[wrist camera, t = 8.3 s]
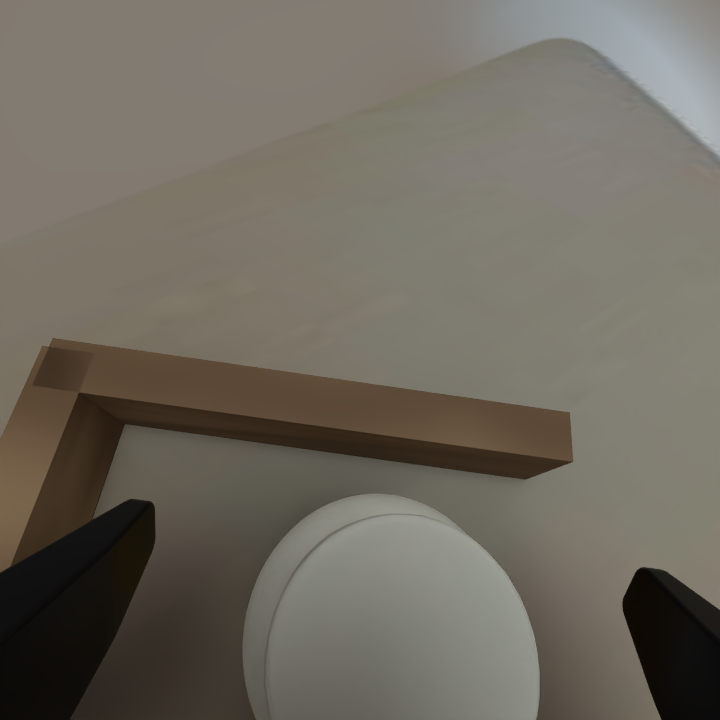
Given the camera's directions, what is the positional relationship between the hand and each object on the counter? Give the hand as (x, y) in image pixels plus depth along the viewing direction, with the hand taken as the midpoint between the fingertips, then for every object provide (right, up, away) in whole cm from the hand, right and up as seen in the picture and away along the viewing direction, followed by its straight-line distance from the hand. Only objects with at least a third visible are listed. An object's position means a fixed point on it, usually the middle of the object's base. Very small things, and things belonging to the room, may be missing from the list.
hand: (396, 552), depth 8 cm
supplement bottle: (-1, -5, +7) cm, 8 cm away
